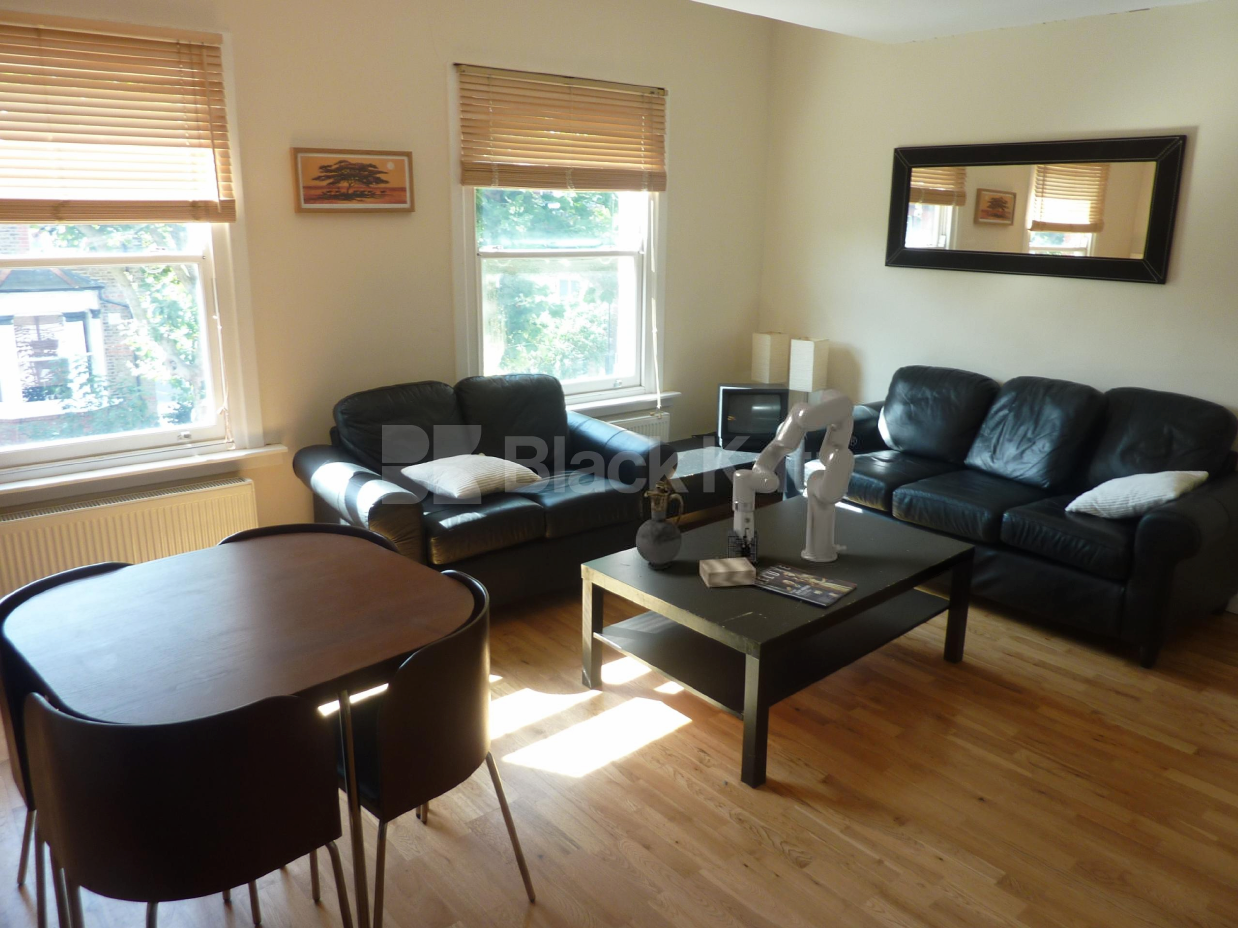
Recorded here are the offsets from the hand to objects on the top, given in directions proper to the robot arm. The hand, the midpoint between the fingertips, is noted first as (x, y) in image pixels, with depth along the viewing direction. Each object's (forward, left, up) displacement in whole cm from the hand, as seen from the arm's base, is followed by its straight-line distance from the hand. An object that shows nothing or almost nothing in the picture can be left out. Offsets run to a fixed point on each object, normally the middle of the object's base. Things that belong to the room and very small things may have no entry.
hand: (742, 552), depth 332 cm
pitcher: (+28, -1, -3) cm, 29 cm away
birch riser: (+10, +16, -3) cm, 19 cm away
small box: (0, 0, -3) cm, 3 cm away
